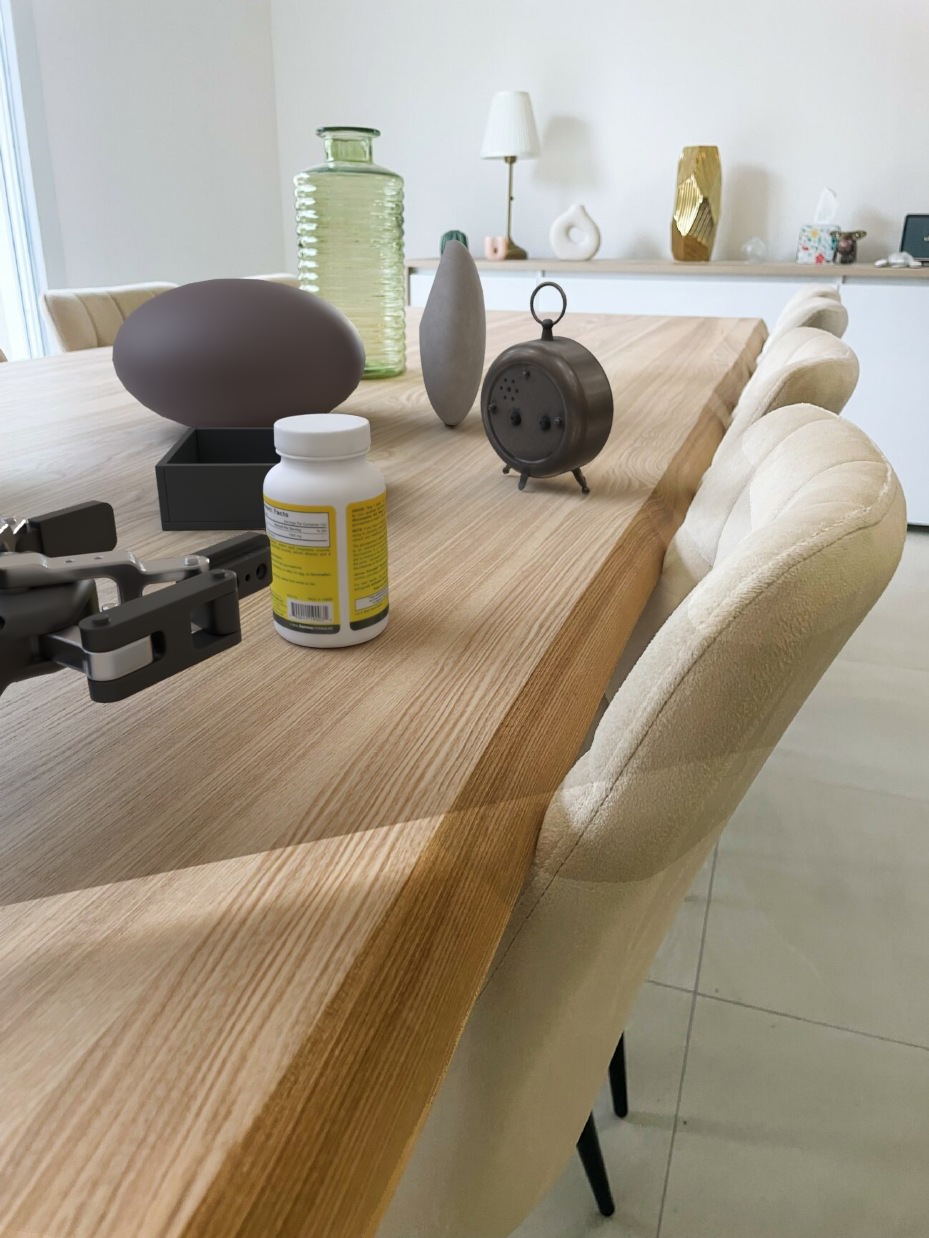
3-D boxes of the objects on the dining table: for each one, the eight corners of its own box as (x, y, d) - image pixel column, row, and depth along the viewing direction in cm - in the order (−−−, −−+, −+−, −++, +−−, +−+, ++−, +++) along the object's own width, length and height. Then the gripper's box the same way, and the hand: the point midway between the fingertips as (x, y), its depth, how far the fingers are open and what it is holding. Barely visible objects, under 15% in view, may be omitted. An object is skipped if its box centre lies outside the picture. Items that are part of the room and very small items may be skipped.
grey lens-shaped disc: (421, 407, 111) (421, 238, 103) (480, 408, 111) (484, 239, 104) (416, 440, 94) (416, 240, 86) (486, 441, 94) (492, 242, 86)
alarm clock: (610, 493, 76) (627, 284, 70) (572, 506, 73) (586, 286, 66) (507, 470, 83) (514, 277, 77) (467, 480, 79) (471, 279, 73)
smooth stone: (355, 459, 86) (351, 288, 80) (84, 454, 86) (60, 282, 80) (376, 410, 109) (374, 275, 103) (162, 406, 108) (148, 270, 102)
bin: (161, 530, 65) (154, 465, 63) (194, 482, 77) (189, 427, 75) (351, 528, 66) (349, 465, 64) (354, 481, 78) (352, 427, 76)
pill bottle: (371, 600, 54) (366, 407, 49) (404, 642, 48) (402, 430, 44) (263, 613, 51) (248, 413, 47) (285, 658, 46) (271, 437, 42)
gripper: (-112, 620, 21) (319, 472, 34) (-417, 524, 27) (50, 430, 40) (-46, 891, 24) (327, 657, 37) (-335, 749, 30) (75, 591, 43)
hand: (183, 539), depth 38 cm, fingers open, 8 cm apart
